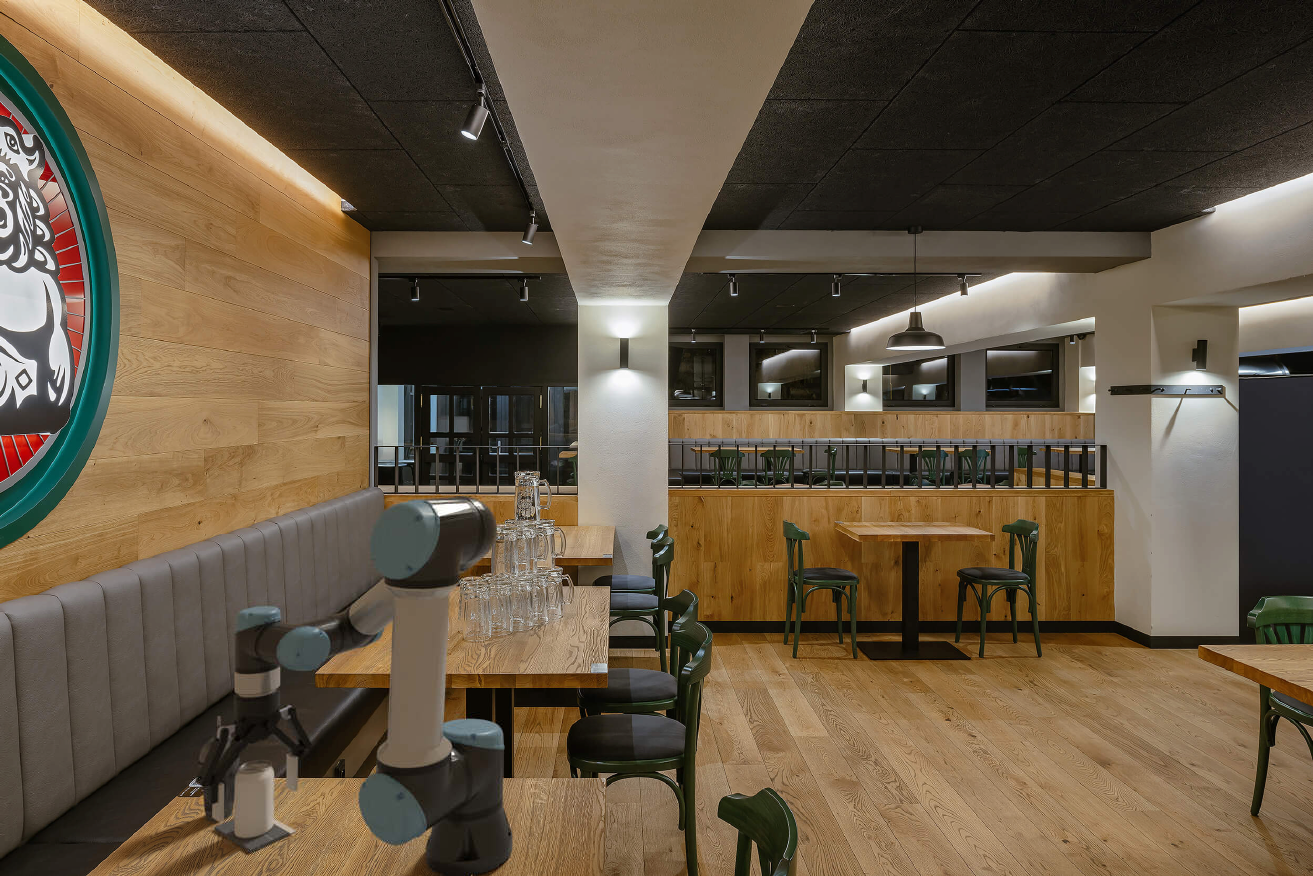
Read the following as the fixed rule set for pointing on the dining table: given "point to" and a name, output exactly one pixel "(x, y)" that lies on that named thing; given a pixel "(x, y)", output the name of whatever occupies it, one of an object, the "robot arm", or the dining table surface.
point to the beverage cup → (227, 781)
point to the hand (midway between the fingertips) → (256, 803)
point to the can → (254, 799)
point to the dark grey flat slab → (255, 843)
